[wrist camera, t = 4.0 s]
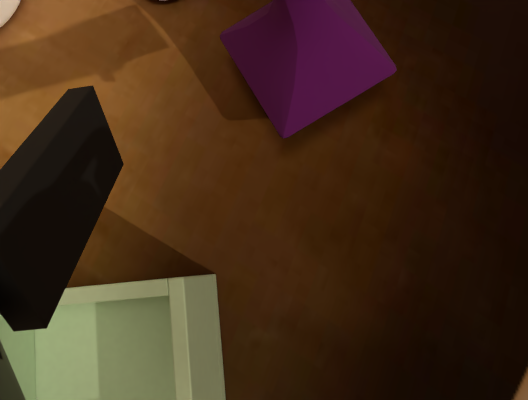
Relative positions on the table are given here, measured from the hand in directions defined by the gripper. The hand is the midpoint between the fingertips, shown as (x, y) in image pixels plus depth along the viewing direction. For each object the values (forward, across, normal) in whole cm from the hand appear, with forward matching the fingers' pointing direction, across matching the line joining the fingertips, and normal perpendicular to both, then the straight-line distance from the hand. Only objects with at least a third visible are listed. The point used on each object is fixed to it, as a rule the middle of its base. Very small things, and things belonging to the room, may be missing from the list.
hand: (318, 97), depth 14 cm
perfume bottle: (+16, 0, -6) cm, 17 cm away
